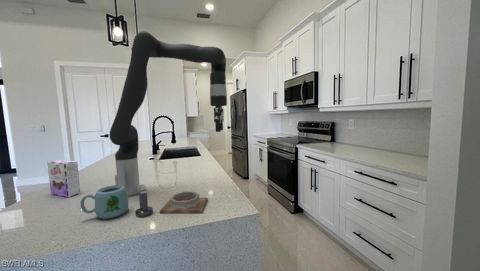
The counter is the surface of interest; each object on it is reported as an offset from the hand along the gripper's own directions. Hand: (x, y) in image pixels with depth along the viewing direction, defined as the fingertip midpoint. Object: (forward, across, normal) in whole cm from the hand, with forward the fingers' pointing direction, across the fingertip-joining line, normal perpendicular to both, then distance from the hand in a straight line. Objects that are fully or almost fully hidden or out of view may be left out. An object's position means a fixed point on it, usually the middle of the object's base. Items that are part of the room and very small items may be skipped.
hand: (219, 131), depth 96 cm
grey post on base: (+29, +21, -27) cm, 45 cm away
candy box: (+30, 0, -77) cm, 82 cm away
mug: (+30, +22, -41) cm, 55 cm away
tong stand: (+29, +15, -13) cm, 35 cm away
